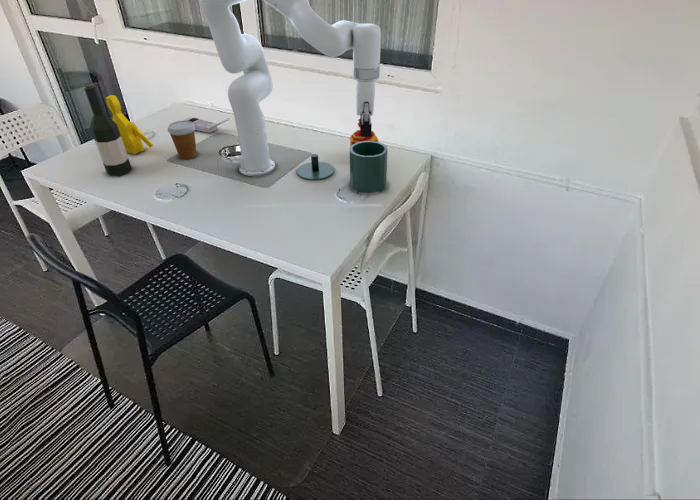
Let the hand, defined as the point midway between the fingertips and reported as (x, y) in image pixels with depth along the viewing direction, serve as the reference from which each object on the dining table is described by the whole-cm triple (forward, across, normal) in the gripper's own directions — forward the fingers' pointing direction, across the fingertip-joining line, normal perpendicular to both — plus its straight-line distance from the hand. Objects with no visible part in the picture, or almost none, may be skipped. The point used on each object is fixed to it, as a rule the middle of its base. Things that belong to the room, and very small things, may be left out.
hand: (365, 130), depth 139 cm
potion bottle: (+19, -18, 0) cm, 27 cm away
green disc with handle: (+18, -8, -17) cm, 26 cm away
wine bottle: (+20, -11, -87) cm, 90 cm away
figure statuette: (+20, -27, -88) cm, 94 cm away
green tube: (+19, 0, +1) cm, 19 cm away
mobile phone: (+16, -48, -66) cm, 84 cm away
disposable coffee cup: (+20, -23, -66) cm, 73 cm away
